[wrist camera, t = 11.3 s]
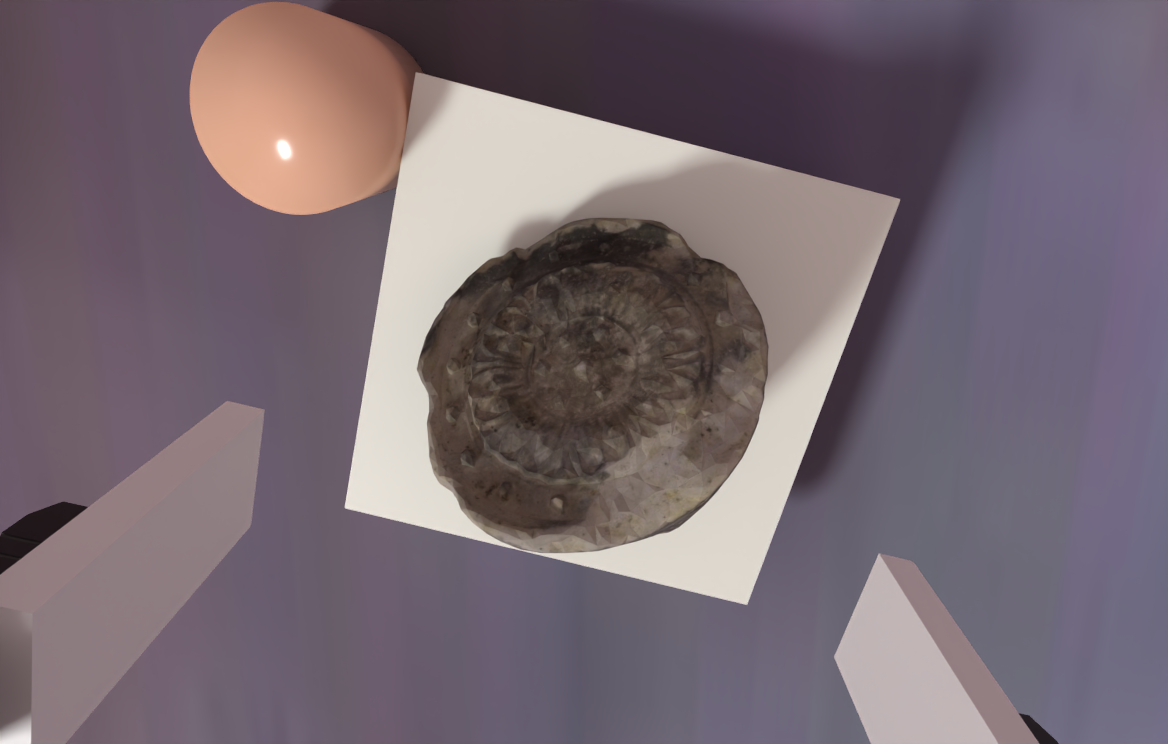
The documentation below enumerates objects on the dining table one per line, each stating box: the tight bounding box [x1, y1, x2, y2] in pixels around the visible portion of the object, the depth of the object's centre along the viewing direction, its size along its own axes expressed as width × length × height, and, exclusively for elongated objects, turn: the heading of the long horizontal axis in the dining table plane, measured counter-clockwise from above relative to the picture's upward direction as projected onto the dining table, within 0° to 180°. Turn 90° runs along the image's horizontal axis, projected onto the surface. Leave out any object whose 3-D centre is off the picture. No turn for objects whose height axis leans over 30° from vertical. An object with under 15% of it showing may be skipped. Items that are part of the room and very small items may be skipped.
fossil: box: [417, 218, 769, 553], centre depth 24 cm, size 11×9×10 cm
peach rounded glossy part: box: [190, 2, 424, 215], centre depth 26 cm, size 6×6×6 cm
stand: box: [345, 72, 900, 605], centre depth 29 cm, size 16×16×4 cm
